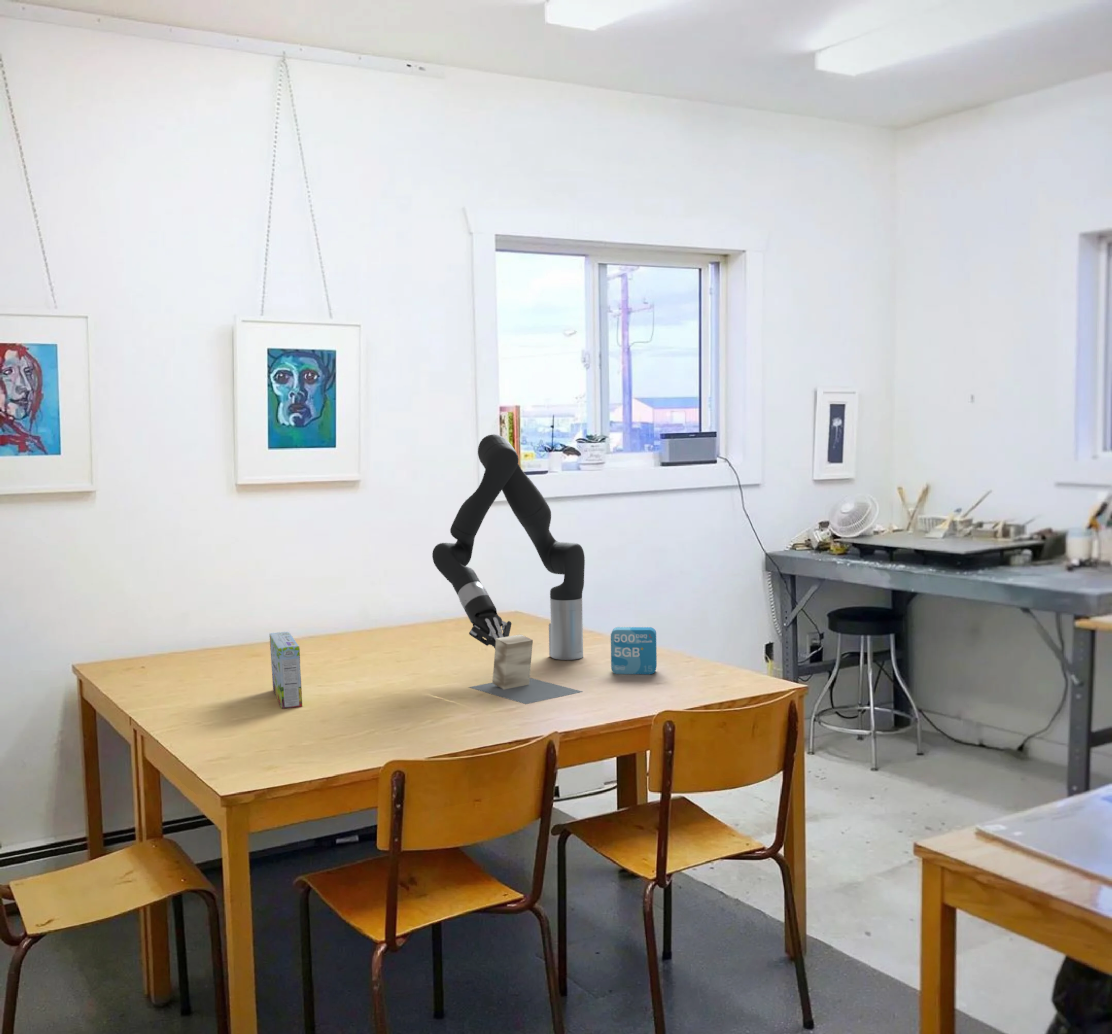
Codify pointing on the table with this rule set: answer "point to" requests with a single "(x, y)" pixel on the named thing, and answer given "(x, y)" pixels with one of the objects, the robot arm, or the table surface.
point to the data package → (633, 650)
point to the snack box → (286, 669)
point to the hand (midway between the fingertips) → (505, 655)
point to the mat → (528, 691)
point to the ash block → (512, 661)
